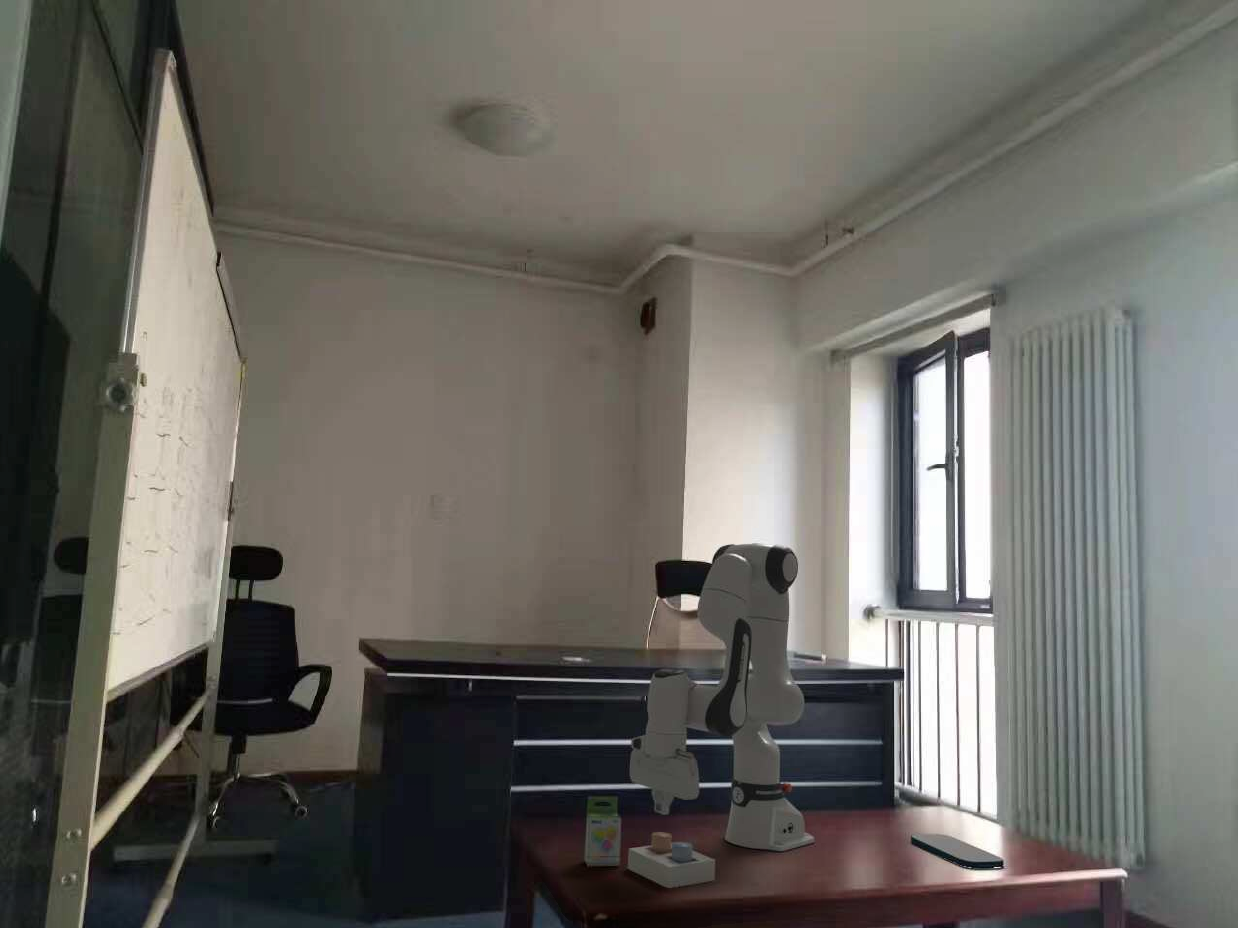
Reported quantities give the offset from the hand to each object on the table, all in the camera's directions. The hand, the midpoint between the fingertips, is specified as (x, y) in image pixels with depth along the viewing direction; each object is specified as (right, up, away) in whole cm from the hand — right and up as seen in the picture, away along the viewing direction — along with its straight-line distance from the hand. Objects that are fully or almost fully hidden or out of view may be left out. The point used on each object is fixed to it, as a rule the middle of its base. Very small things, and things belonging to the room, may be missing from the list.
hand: (661, 812), depth 188 cm
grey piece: (+4, -8, -7) cm, 11 cm away
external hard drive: (+72, -20, +24) cm, 78 cm away
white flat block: (+2, -11, -4) cm, 12 cm away
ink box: (-13, -11, 0) cm, 17 cm away
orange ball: (0, -8, -1) cm, 9 cm away
